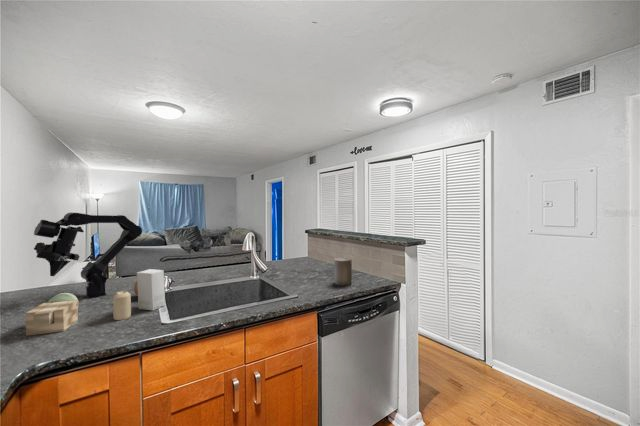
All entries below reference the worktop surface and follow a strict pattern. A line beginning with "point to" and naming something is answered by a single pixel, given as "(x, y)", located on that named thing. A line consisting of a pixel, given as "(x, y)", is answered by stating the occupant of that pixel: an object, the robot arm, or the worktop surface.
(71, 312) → the block
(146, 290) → the skincare box
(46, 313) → the plunger
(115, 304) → the candle
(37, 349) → the worktop surface
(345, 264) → the pillar candle
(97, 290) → the robot arm
